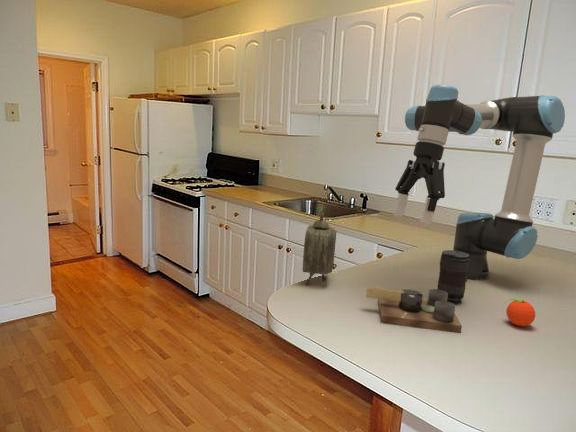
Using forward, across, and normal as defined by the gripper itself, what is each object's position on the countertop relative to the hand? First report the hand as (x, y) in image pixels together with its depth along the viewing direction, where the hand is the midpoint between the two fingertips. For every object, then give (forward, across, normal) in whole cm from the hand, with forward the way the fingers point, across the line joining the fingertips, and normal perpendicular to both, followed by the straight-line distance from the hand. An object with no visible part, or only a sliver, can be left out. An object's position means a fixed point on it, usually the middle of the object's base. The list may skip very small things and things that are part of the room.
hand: (411, 219), depth 116 cm
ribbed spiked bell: (+27, -26, -12) cm, 39 cm away
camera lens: (+22, -6, +24) cm, 33 cm away
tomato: (+21, +12, +32) cm, 40 cm away
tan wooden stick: (+24, +2, 0) cm, 24 cm away
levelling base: (+25, +4, +6) cm, 27 cm away
